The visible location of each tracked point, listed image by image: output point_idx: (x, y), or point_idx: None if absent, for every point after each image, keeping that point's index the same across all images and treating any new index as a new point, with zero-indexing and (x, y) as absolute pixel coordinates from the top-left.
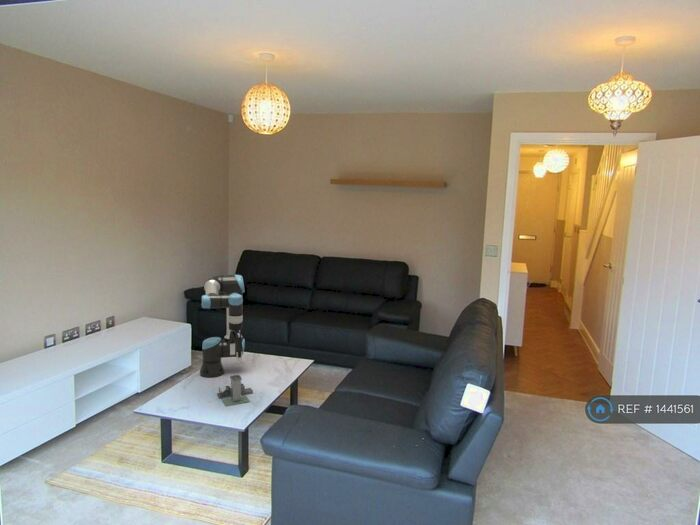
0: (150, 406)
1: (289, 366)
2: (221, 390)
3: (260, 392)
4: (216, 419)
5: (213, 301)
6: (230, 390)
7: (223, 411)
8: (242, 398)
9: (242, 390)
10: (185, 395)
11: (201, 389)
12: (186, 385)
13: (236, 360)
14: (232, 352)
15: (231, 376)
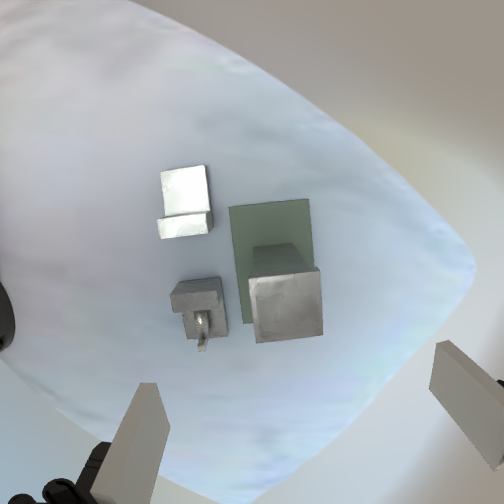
0: (226, 497)
1: (2, 12)
2: (204, 332)
3: (203, 127)
4: (406, 350)
5: None
6: (217, 291)
7: (356, 324)
8: (262, 229)
9: (209, 224)
10: None
11: (112, 375)
12: (75, 408)
13: (442, 401)
14: (158, 428)
15: (268, 335)
